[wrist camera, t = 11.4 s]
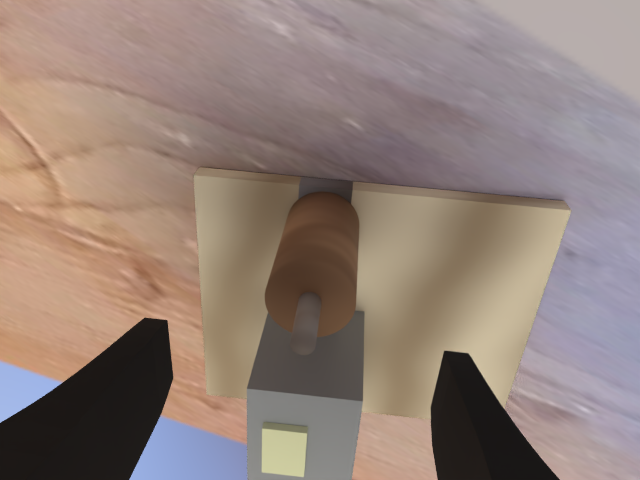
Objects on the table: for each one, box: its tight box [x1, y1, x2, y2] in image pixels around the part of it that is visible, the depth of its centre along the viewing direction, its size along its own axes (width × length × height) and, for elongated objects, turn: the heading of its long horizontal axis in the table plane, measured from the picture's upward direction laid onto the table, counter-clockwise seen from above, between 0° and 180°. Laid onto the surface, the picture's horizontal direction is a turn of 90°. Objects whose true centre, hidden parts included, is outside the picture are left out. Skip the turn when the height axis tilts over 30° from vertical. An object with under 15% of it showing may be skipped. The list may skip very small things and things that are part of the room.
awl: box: [265, 191, 359, 355], centre depth 17 cm, size 3×3×7 cm
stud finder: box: [247, 311, 365, 480], centre depth 21 cm, size 4×6×5 cm
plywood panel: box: [193, 167, 571, 420], centre depth 23 cm, size 14×12×1 cm
